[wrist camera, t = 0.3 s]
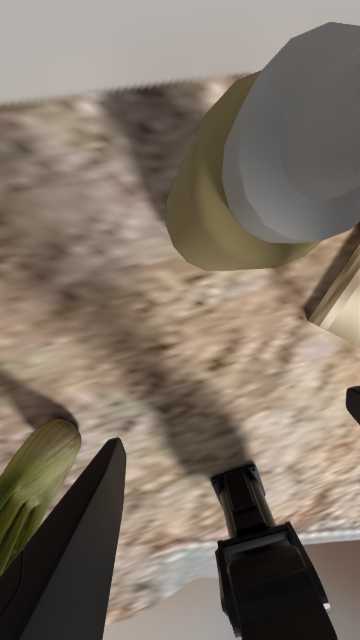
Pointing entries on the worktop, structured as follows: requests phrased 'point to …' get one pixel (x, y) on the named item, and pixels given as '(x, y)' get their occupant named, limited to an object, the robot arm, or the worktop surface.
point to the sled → (342, 303)
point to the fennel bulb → (34, 483)
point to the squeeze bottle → (274, 159)
